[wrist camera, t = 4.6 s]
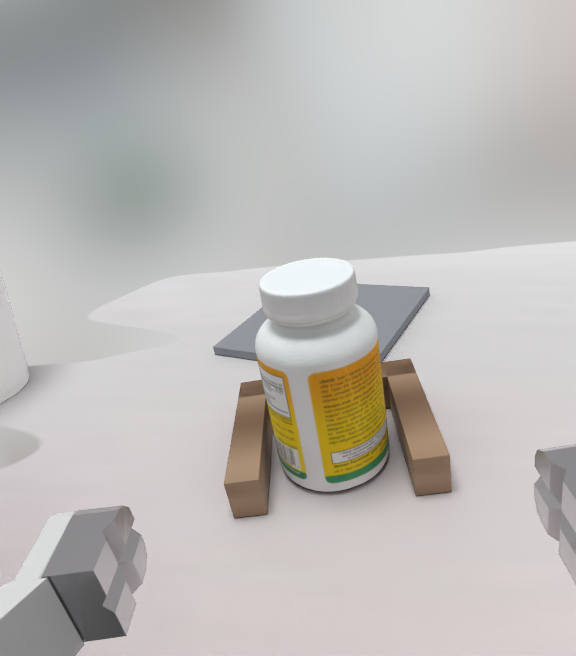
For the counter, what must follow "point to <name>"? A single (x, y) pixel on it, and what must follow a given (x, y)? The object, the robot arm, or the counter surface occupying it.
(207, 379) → the counter surface
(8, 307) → the foam cup
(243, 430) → the slot holder
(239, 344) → the slate mat
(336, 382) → the supplement bottle
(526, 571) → the counter surface
